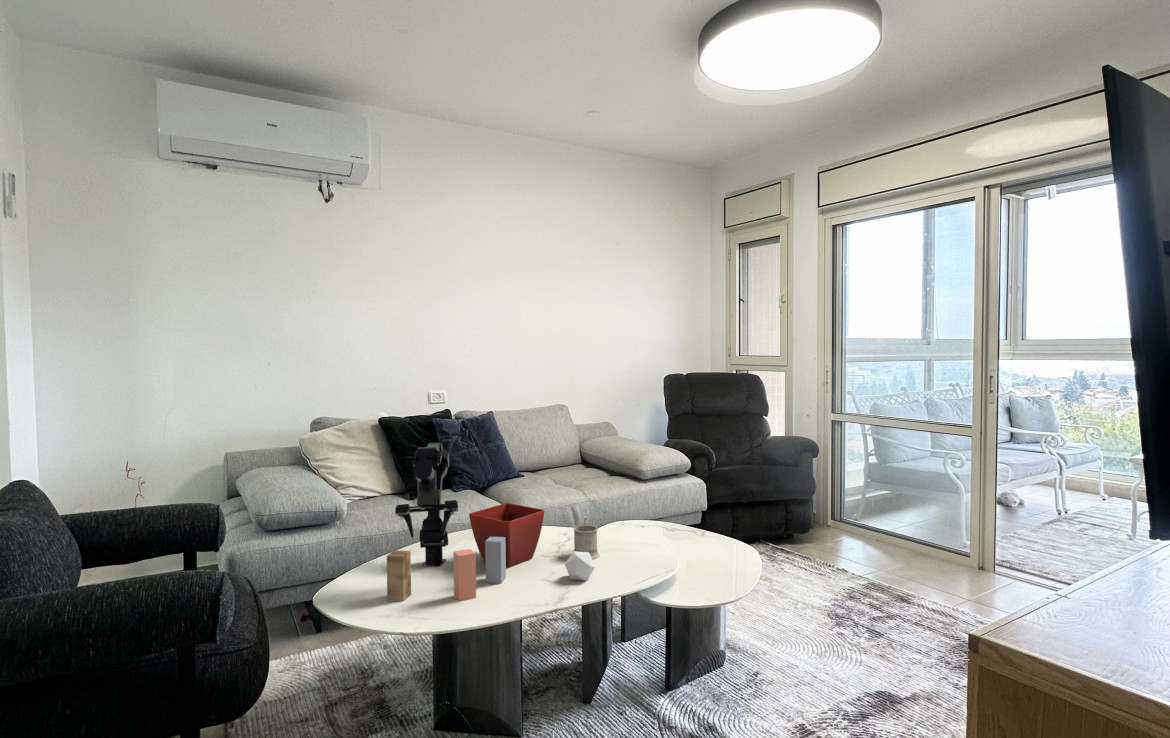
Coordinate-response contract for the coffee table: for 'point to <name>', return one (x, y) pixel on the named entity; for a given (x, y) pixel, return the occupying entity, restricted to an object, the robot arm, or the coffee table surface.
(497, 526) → the plant pot
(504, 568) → the slate pillar
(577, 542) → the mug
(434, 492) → the robot arm
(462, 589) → the salmon block
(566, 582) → the coffee table surface
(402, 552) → the walnut pillar
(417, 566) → the coffee table surface
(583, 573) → the die
